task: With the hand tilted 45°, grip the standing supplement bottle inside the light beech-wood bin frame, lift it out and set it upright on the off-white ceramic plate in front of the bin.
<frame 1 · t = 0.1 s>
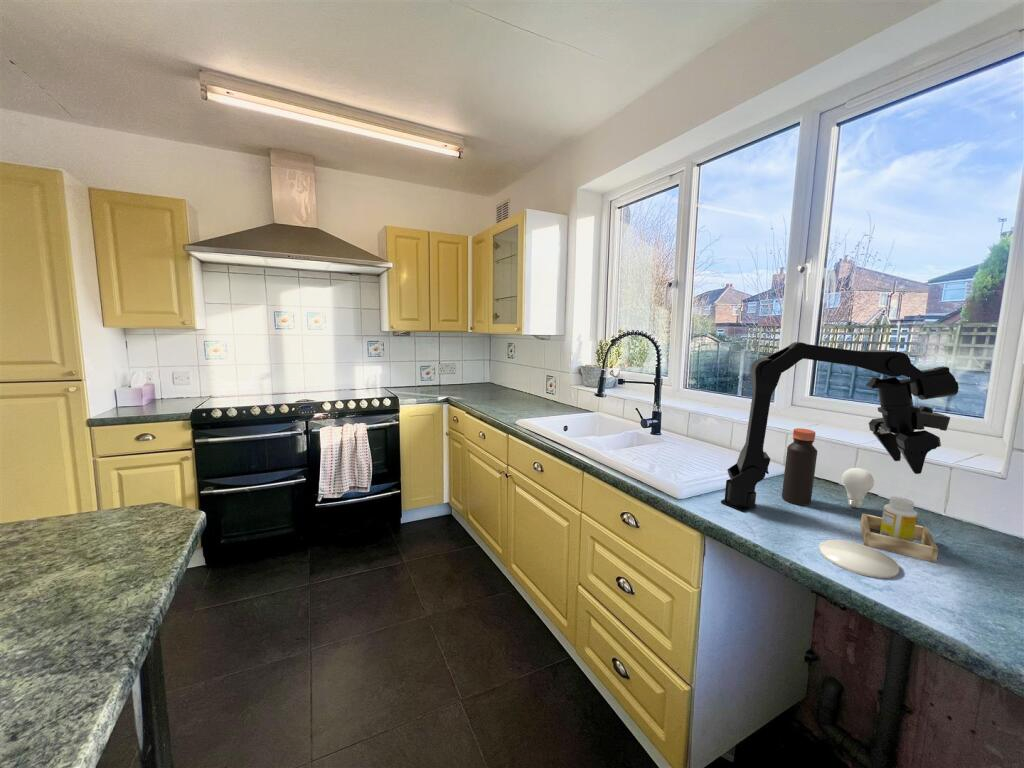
hand: (907, 467, 100), 15 cm above the countertop, tool pointing down, fingers open, 9 cm apart
bin frame: (895, 542, 96), on the countertop
light bulb: (853, 508, 114), on the countertop
vinegar: (795, 501, 118), on the countertop
supplement bottle: (894, 543, 96), resting in bin frame
plate: (857, 559, 89), on the countertop
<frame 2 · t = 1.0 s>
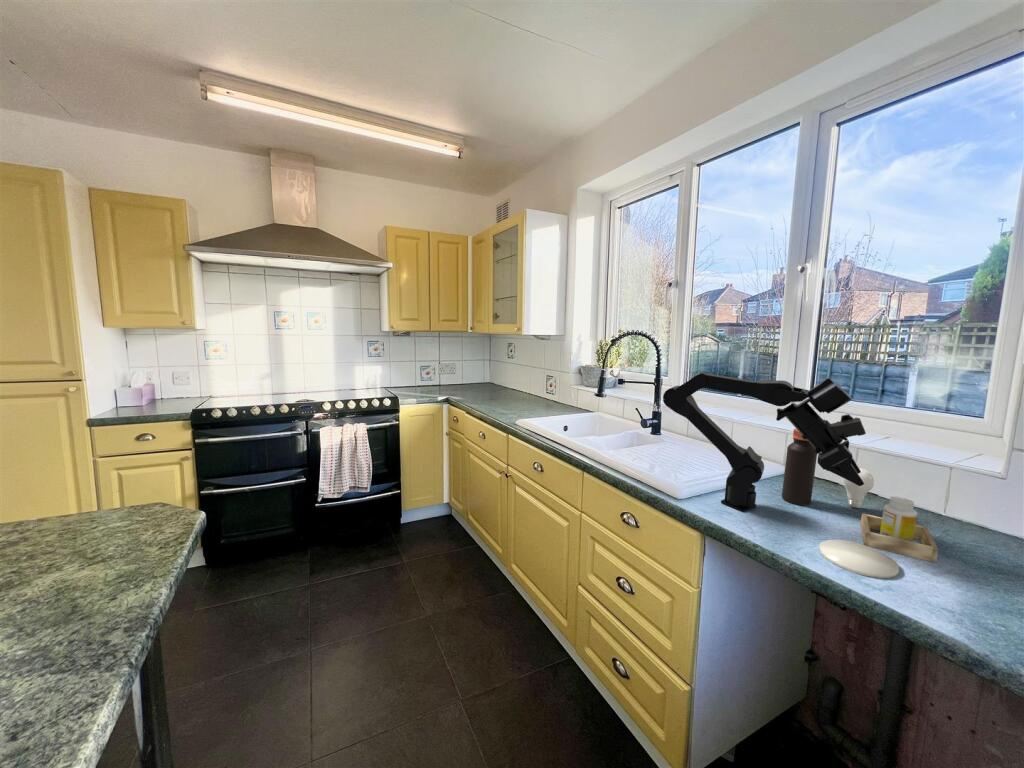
hand: (860, 478, 99), 13 cm above the countertop, tool tilted 45°, fingers open, 9 cm apart
nothing on the countertop moved.
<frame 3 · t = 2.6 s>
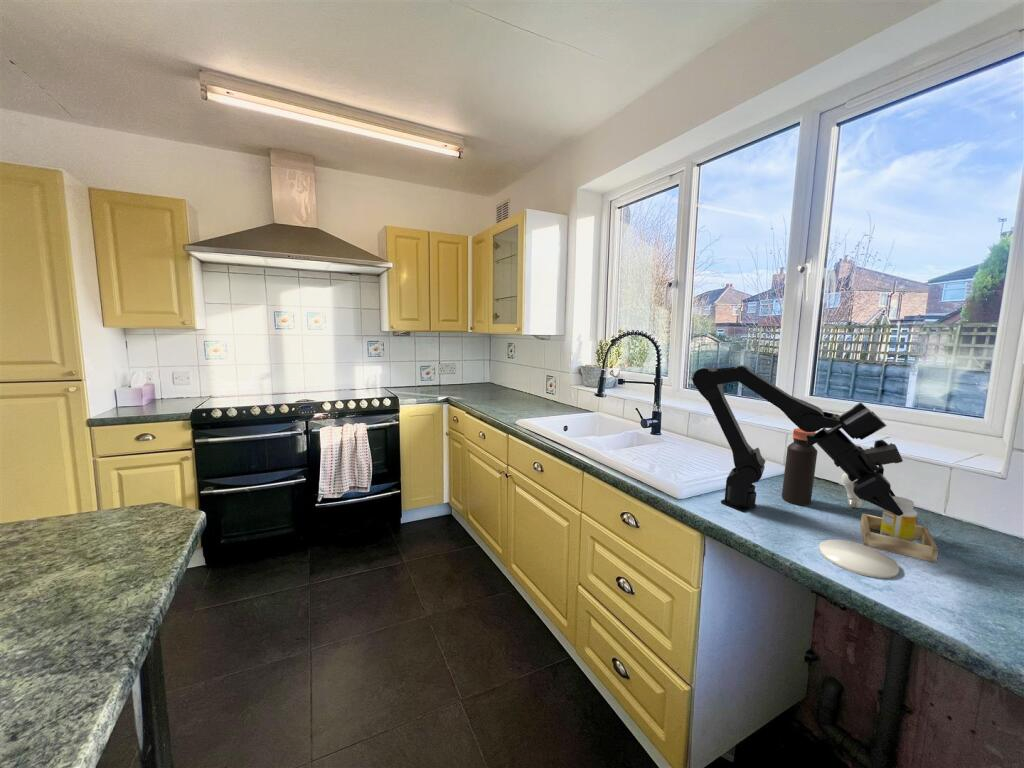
hand: (898, 507, 95), 8 cm above the countertop, tool tilted 45°, fingers open, 9 cm apart
nothing on the countertop moved.
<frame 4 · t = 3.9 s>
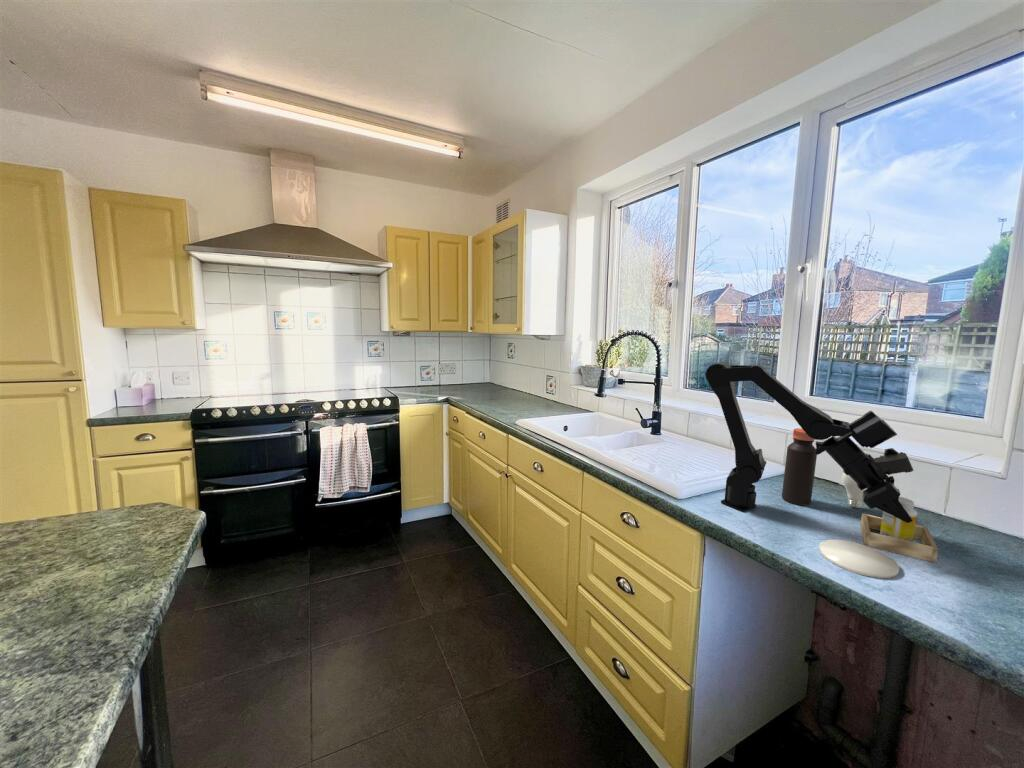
hand: (908, 516, 94), 7 cm above the countertop, tool tilted 45°, fingers closed on supplement bottle, 5 cm apart
supplement bottle: (894, 543, 96), resting in bin frame, touching gripper
everything else where it was.
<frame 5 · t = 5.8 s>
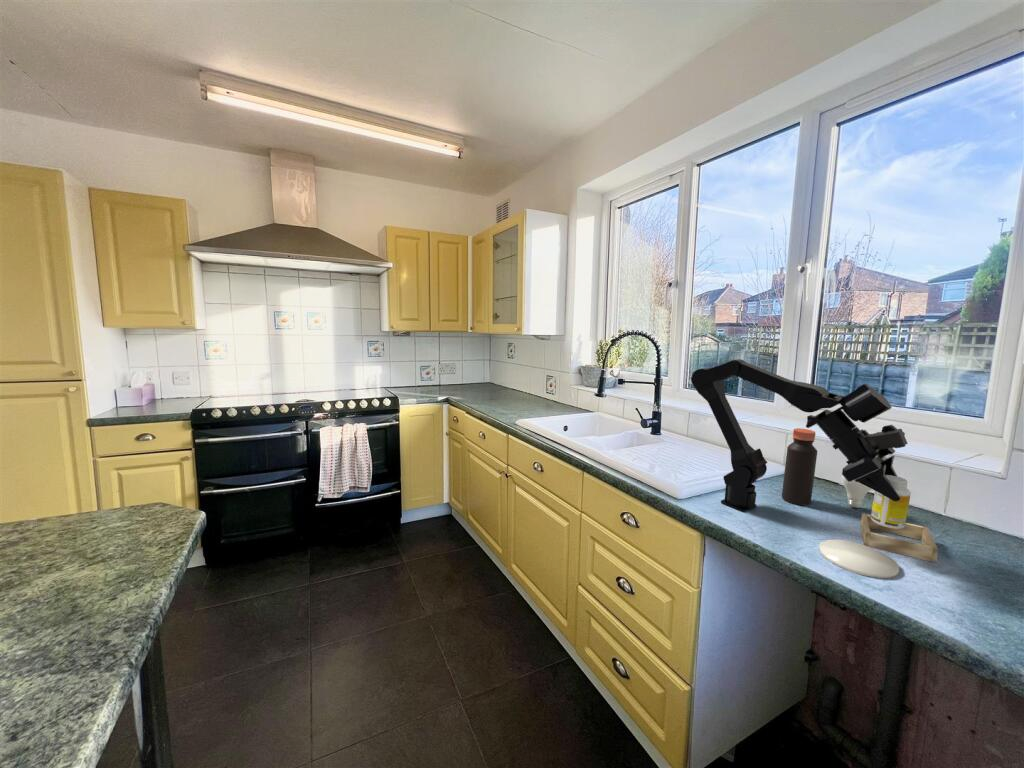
hand: (900, 496, 89), 13 cm above the countertop, tool tilted 45°, fingers closed on supplement bottle, 5 cm apart
supplement bottle: (886, 524, 91), point 6 cm above the countertop, touching gripper
everything else where it was.
when the fingers open (9 cm above the countertop, at t = 8.0 s): supplement bottle drops 1 cm, resting on plate.
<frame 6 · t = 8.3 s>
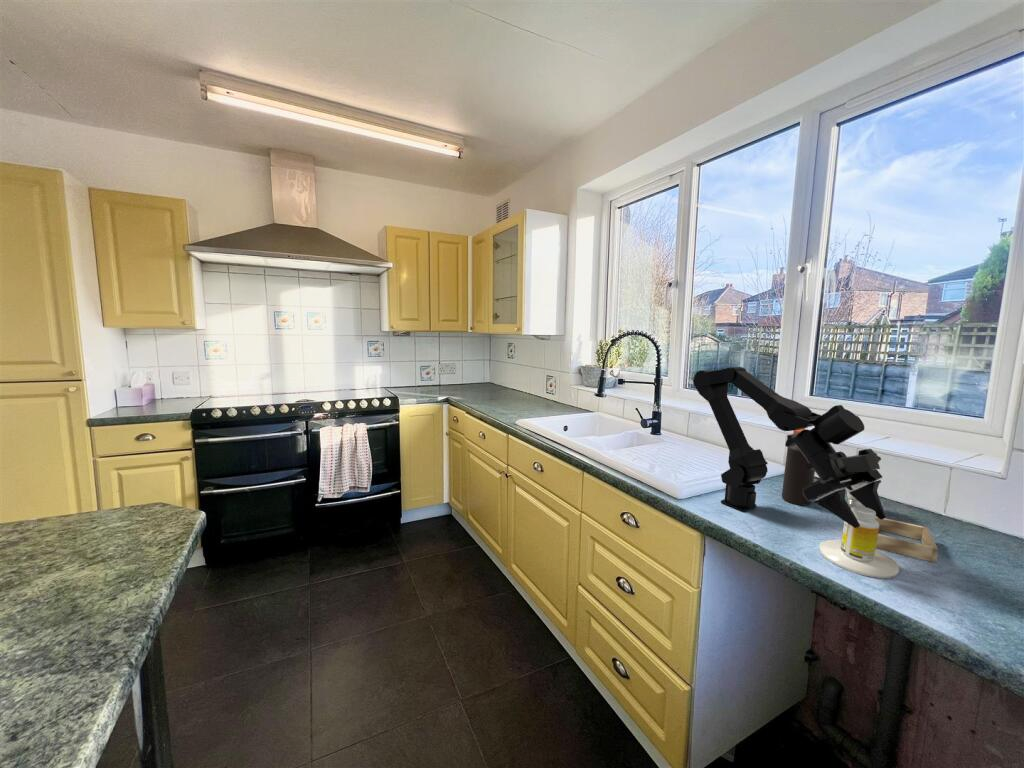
hand: (870, 522, 86), 9 cm above the countertop, tool tilted 45°, fingers open, 9 cm apart
supplement bottle: (856, 556, 89), point 1 cm above the countertop, touching plate
everything else where it was.
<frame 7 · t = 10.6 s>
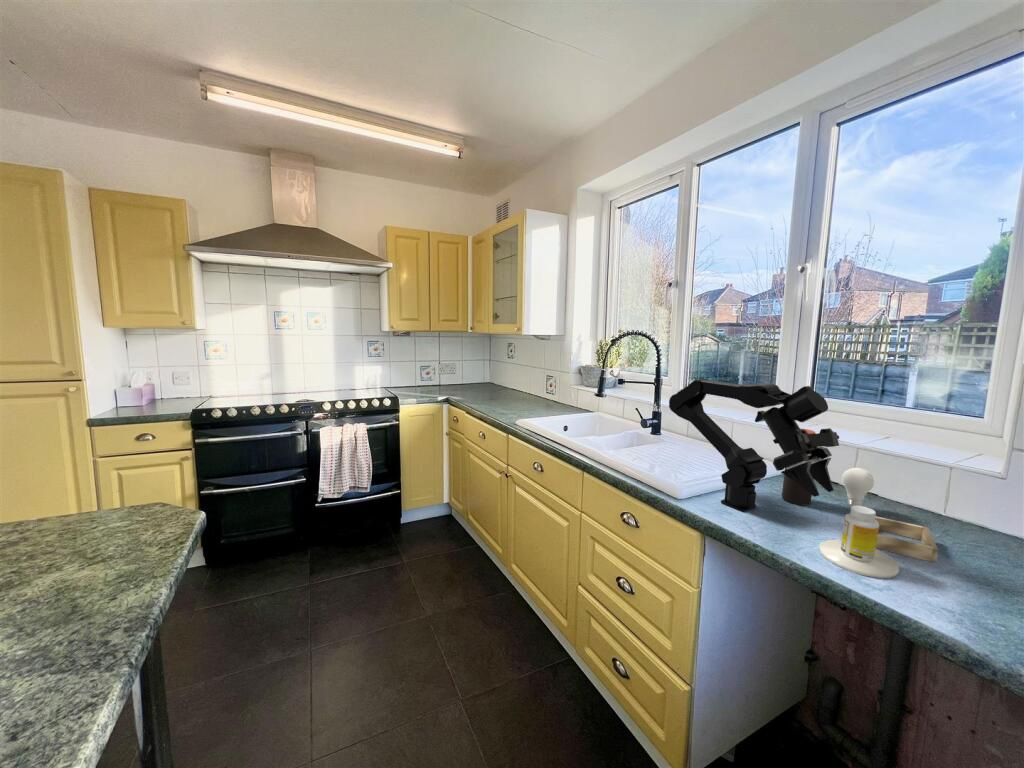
hand: (824, 493, 95), 11 cm above the countertop, tool tilted 40°, fingers open, 9 cm apart
nothing on the countertop moved.
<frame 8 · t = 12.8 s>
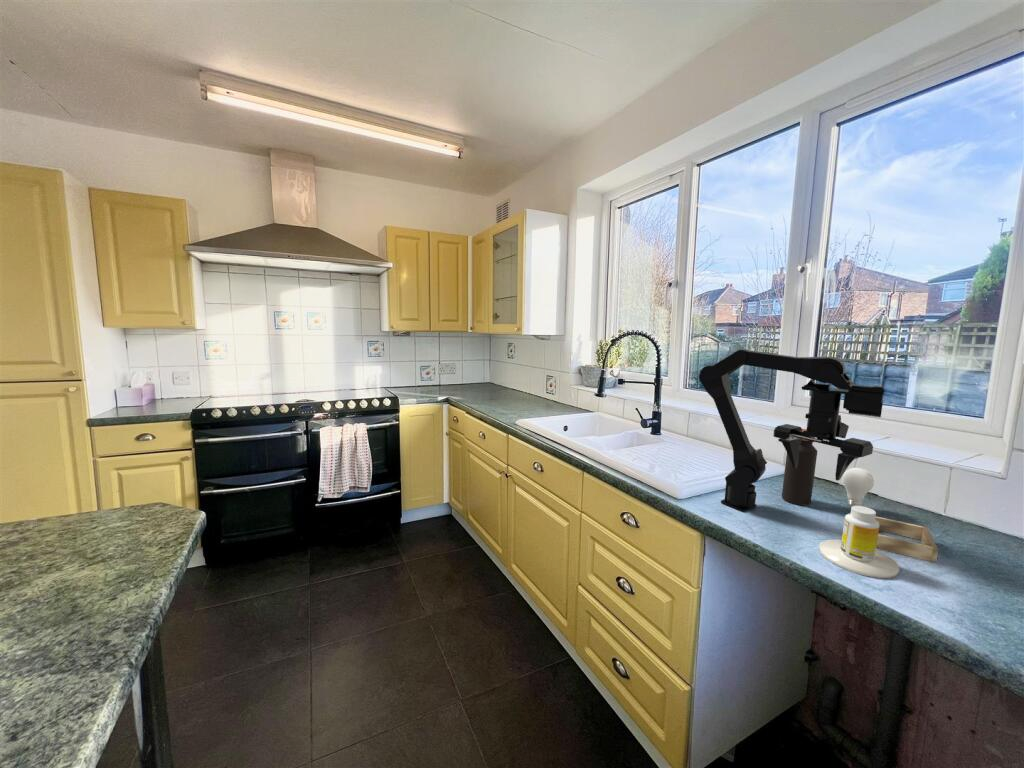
hand: (815, 473, 102), 13 cm above the countertop, tool pointing down, fingers open, 9 cm apart
nothing on the countertop moved.
at the end: supplement bottle inside the target area on the plate (0.2 cm from its centre), point 0.6 cm above the plate's base; supplement bottle tilted 0°; the gripper is holding nothing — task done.
